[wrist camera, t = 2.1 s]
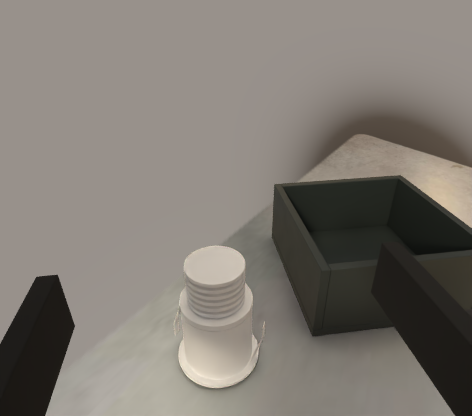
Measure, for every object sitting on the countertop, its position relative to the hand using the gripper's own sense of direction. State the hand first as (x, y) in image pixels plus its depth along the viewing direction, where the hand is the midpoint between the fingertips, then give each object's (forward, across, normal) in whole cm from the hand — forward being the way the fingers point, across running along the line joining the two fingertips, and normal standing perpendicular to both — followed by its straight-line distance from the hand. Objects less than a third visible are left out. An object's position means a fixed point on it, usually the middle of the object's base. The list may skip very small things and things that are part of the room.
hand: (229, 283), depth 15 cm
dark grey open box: (+19, +17, -17) cm, 30 cm away
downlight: (+10, 0, -17) cm, 20 cm away
